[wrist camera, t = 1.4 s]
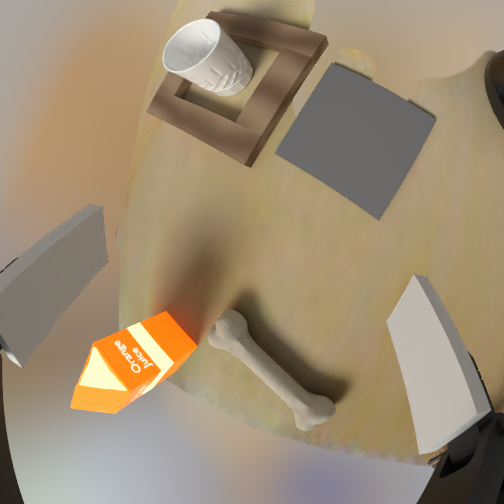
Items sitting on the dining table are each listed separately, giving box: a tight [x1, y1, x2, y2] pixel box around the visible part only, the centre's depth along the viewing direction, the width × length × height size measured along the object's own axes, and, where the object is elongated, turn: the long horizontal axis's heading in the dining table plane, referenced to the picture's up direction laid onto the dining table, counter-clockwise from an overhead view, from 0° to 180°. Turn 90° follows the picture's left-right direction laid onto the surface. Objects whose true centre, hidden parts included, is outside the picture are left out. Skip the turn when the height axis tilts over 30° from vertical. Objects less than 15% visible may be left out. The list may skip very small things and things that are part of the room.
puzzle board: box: [146, 11, 328, 167], centre depth 31 cm, size 20×20×2 cm
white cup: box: [163, 19, 253, 97], centre depth 27 cm, size 8×8×10 cm
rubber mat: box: [275, 63, 436, 220], centre depth 27 cm, size 14×14×1 cm
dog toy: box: [208, 309, 336, 431], centre depth 32 cm, size 20×6×5 cm, turn 50°
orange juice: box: [71, 311, 197, 413], centre depth 33 cm, size 8×9×20 cm
